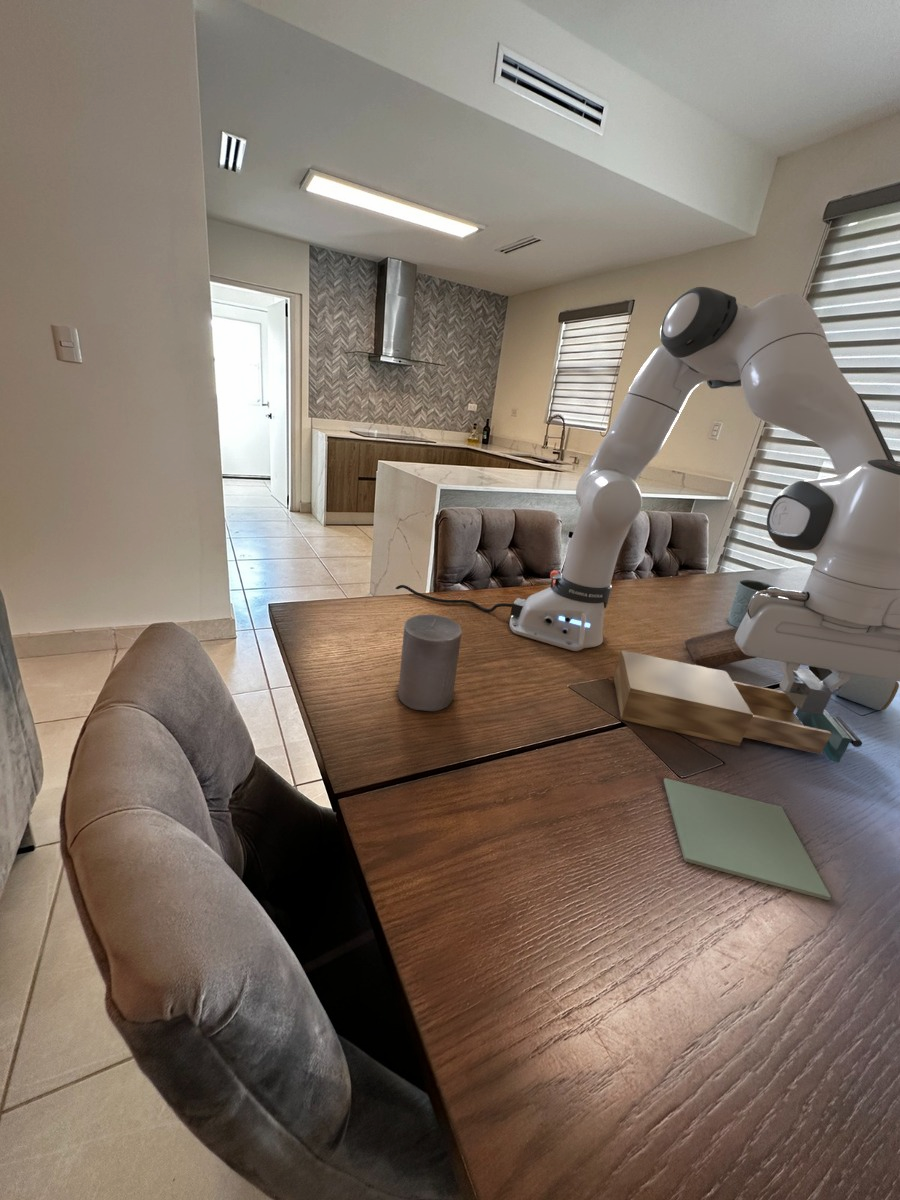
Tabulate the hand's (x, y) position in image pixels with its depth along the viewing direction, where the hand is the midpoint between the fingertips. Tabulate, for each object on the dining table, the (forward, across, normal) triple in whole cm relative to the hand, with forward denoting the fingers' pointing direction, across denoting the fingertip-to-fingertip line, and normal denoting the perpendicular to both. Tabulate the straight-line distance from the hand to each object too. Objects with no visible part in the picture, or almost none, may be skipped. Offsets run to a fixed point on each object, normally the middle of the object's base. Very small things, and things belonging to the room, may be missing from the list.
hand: (803, 693), depth 63 cm
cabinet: (+17, -8, +19) cm, 27 cm away
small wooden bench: (+18, +15, +43) cm, 49 cm away
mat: (+17, -6, -10) cm, 21 cm away
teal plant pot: (+18, +23, +72) cm, 77 cm away
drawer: (+17, +9, +18) cm, 26 cm away
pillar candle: (+17, -53, +6) cm, 56 cm away
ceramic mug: (+18, +34, +38) cm, 54 cm away
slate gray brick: (+1, 0, 0) cm, 1 cm away
